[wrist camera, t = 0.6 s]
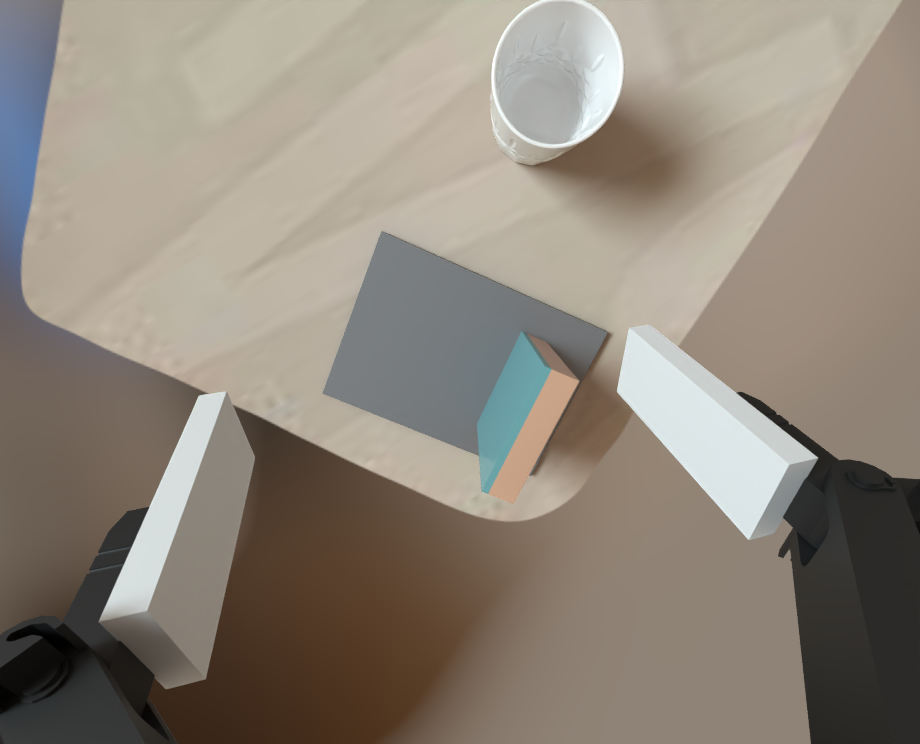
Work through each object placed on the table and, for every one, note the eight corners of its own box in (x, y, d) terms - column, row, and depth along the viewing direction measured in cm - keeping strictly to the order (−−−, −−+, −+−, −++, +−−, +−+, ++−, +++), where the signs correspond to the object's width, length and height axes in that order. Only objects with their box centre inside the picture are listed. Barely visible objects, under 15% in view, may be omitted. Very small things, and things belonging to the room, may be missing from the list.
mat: (605, 331, 40) (608, 332, 40) (529, 473, 45) (530, 476, 44) (382, 231, 38) (381, 231, 38) (324, 391, 42) (322, 393, 42)
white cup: (592, 76, 35) (642, 12, 25) (567, 182, 37) (603, 160, 27) (495, 54, 34) (507, -19, 25) (475, 162, 37) (479, 133, 27)
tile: (546, 341, 40) (579, 381, 29) (500, 433, 43) (513, 503, 31) (521, 330, 40) (545, 366, 28) (476, 424, 42) (481, 491, 31)
